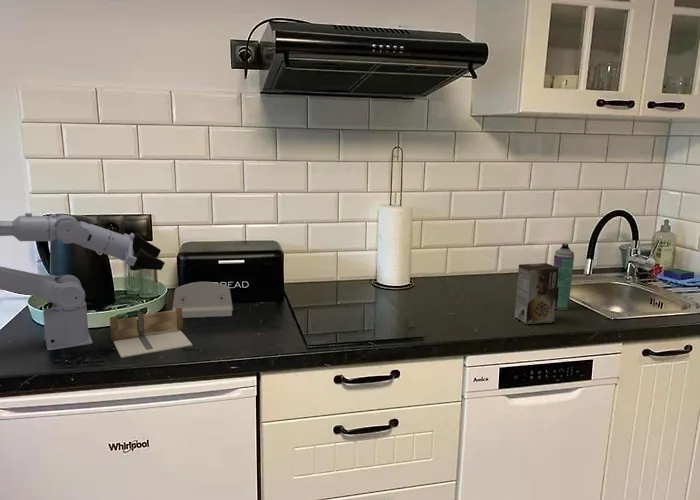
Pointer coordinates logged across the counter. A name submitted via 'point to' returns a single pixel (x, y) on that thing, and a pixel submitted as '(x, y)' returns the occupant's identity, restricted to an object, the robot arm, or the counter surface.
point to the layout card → (152, 343)
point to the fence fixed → (123, 328)
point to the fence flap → (159, 321)
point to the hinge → (203, 300)
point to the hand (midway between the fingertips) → (160, 259)
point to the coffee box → (536, 292)
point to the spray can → (563, 275)
